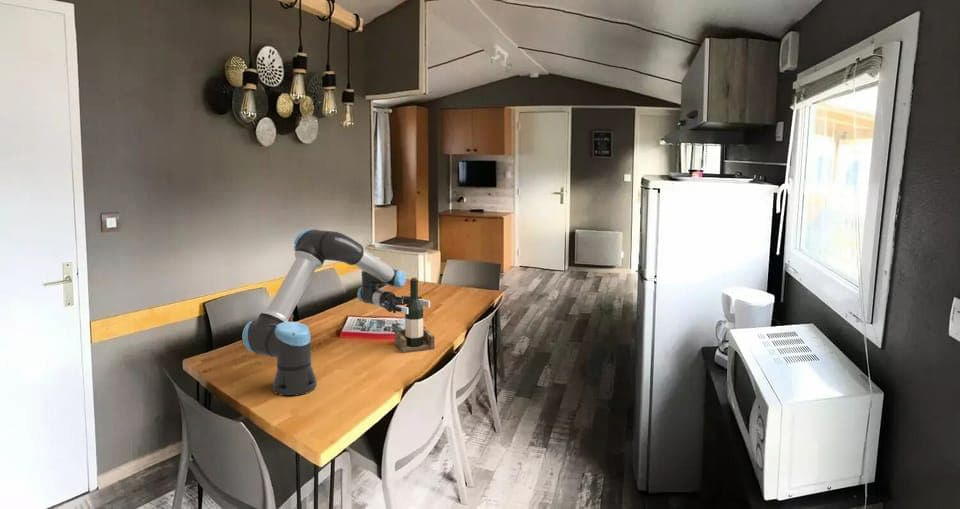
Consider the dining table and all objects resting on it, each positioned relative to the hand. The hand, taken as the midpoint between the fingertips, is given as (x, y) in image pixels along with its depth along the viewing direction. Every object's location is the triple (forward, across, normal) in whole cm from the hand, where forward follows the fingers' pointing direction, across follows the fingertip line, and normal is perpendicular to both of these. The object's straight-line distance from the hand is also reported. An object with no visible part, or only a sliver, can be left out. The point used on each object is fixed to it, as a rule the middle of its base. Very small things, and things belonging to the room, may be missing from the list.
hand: (418, 307), depth 243 cm
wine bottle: (-3, 0, -18) cm, 18 cm away
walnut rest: (-3, 0, -18) cm, 18 cm away
